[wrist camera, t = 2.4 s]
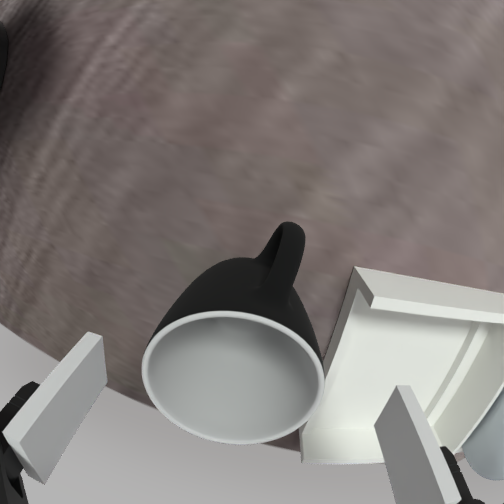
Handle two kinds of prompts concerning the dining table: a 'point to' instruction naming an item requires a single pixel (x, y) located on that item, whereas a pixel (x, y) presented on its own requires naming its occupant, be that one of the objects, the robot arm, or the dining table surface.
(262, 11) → the dining table surface
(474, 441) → the plate in rack
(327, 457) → the dish rack
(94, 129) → the dining table surface
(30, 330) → the dining table surface
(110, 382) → the dining table surface
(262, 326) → the mug
